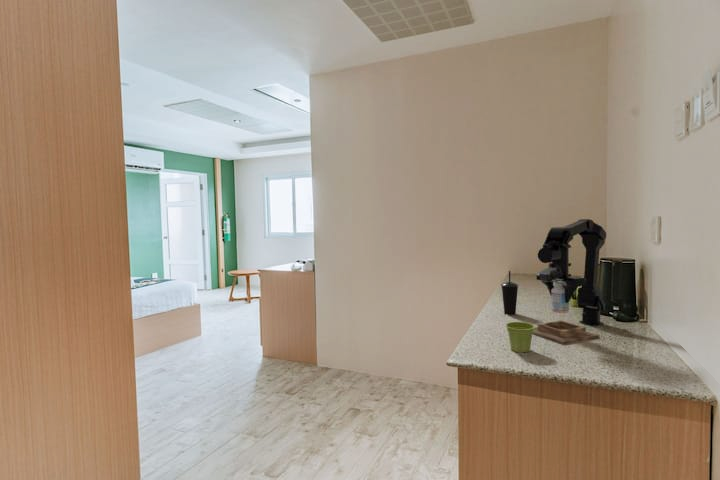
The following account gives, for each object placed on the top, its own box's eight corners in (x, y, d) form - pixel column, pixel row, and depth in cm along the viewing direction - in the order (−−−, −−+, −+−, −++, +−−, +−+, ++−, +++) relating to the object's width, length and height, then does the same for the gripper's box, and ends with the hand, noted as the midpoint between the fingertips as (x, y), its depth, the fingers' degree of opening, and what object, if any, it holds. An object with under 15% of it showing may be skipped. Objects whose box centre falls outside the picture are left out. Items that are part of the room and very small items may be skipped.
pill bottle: (567, 309, 161) (567, 281, 160) (570, 313, 155) (570, 284, 154) (550, 309, 162) (550, 281, 162) (552, 313, 157) (552, 283, 156)
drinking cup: (500, 315, 190) (500, 271, 189) (501, 311, 197) (501, 269, 196) (518, 316, 187) (518, 272, 186) (518, 312, 194) (518, 270, 193)
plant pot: (532, 356, 137) (532, 330, 136) (503, 352, 142) (502, 327, 141) (537, 348, 145) (537, 323, 144) (509, 344, 150) (509, 320, 149)
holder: (560, 325, 171) (560, 317, 170) (599, 337, 154) (599, 328, 154) (525, 331, 164) (525, 322, 164) (562, 344, 147) (562, 335, 147)
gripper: (525, 259, 163) (525, 298, 164) (563, 264, 146) (563, 308, 147) (547, 257, 167) (547, 296, 168) (587, 262, 150) (587, 305, 151)
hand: (560, 301), depth 158 cm, fingers closed on pill bottle, 6 cm apart
